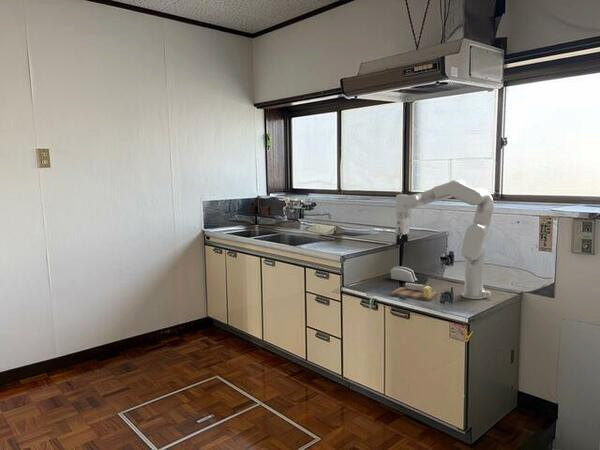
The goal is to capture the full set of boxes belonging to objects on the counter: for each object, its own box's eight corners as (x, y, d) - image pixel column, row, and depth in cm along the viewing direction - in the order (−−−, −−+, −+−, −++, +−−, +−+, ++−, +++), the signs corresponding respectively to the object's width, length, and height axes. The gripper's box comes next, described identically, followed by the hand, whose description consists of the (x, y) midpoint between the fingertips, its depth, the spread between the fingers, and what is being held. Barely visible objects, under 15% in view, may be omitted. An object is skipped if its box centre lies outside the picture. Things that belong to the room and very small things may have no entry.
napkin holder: (417, 280, 291) (415, 267, 287) (414, 284, 288) (411, 271, 284) (395, 276, 303) (392, 263, 299) (391, 280, 300) (388, 267, 296)
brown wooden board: (438, 294, 260) (438, 292, 260) (430, 301, 249) (430, 298, 249) (400, 289, 273) (400, 287, 273) (391, 295, 262) (390, 292, 262)
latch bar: (429, 290, 262) (429, 285, 262) (427, 292, 260) (427, 286, 259) (406, 287, 270) (407, 282, 270) (404, 289, 268) (404, 283, 267)
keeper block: (431, 295, 254) (431, 286, 254) (428, 297, 251) (428, 288, 250) (425, 294, 256) (425, 286, 255) (423, 296, 253) (423, 288, 252)
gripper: (402, 217, 264) (402, 246, 266) (413, 213, 278) (413, 241, 280) (390, 216, 268) (390, 245, 270) (401, 213, 282) (401, 240, 284)
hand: (402, 243), depth 275 cm, fingers open, 9 cm apart
